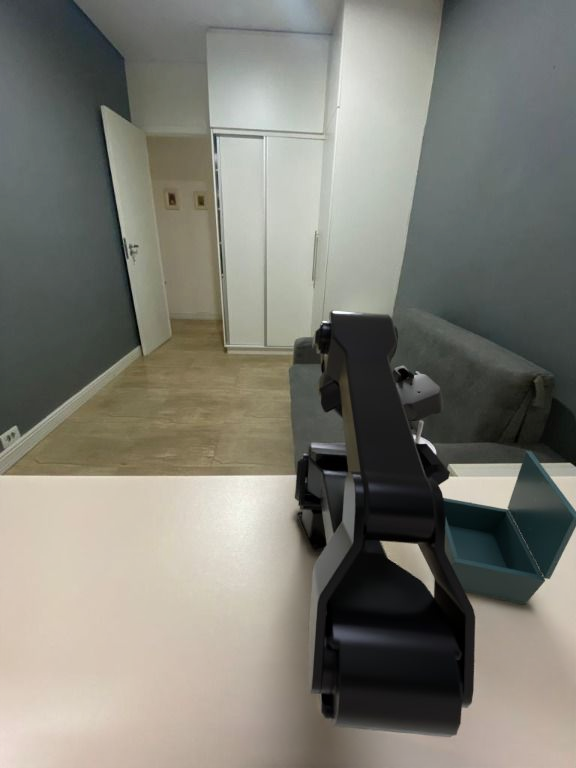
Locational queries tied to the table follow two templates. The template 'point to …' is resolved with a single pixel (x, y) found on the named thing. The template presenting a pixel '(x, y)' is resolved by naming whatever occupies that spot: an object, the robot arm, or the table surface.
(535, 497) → the box lid
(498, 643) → the table surface
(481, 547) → the box
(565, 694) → the table surface
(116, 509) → the table surface
